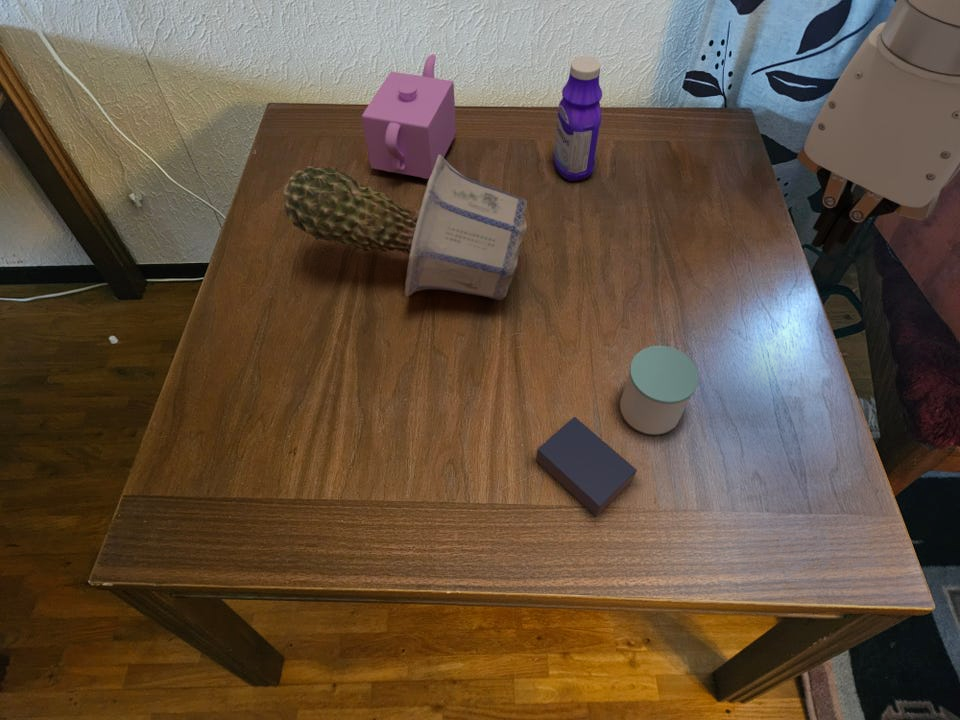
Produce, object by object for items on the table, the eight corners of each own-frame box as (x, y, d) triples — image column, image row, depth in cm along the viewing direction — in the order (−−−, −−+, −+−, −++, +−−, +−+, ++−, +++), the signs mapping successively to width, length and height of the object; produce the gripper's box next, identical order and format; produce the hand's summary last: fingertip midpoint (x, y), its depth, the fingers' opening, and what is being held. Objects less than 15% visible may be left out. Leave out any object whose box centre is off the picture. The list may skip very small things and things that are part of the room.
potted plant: (544, 153, 80) (305, 87, 76) (531, 262, 70) (258, 192, 67) (508, 244, 94) (307, 191, 91) (494, 343, 85) (268, 290, 81)
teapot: (428, 198, 97) (420, 126, 86) (366, 186, 98) (352, 114, 88) (466, 121, 108) (464, 49, 97) (410, 112, 109) (402, 40, 99)
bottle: (547, 158, 102) (556, 53, 87) (580, 151, 103) (594, 46, 88) (564, 187, 98) (576, 82, 83) (598, 179, 99) (616, 74, 84)
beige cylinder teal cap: (612, 411, 78) (666, 348, 77) (658, 451, 75) (716, 386, 74) (593, 397, 69) (654, 326, 68) (645, 442, 66) (710, 367, 65)
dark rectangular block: (632, 481, 70) (637, 470, 67) (595, 517, 68) (599, 506, 65) (571, 428, 74) (574, 415, 71) (535, 460, 71) (536, 448, 69)
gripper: (1099, 52, 39) (931, 264, 54) (867, -26, 45) (774, 183, 60) (1054, 102, 36) (889, 311, 51) (812, 11, 42) (729, 221, 57)
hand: (827, 241), depth 55 cm, fingers closed
